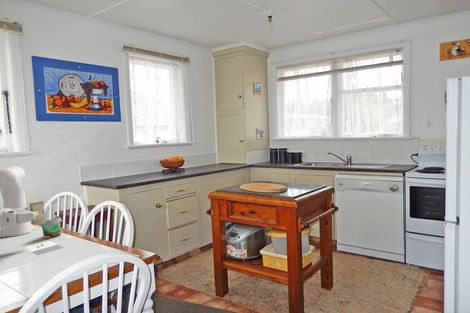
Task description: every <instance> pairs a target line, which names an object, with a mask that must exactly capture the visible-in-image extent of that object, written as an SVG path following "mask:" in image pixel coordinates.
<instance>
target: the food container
mask: <svg viewBox="0 0 470 313" xmlns="http://www.w3.org/2000/svg"><path fill="white" fill-rule="evenodd" d="M62 221H63V220H62V218H61V216H59V215H56V216H55V218H51V219H48V220H45V222H46V223H43V224H40V226H41V229H42V236H43V239H44V240H49V239H55V238H58V237H60V236H61V230H62V228H61V222H62Z"/></svg>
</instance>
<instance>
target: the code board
mask: <svg viewBox="0 0 470 313" xmlns="http://www.w3.org/2000/svg"><path fill="white" fill-rule="evenodd" d="M24 249H26V250H27V251H29V252H31V253H33V254H34V255H36V256H40V255H44V254H47V253H50V252H54V251H59V250H61V249H65V247H64V246H62V245H59V244H57V243H55V242H54V241H51V240H49V241H44V242H40V243H36V244H33V245H30V246H26V247H24Z"/></svg>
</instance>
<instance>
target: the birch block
mask: <svg viewBox="0 0 470 313" xmlns="http://www.w3.org/2000/svg"><path fill="white" fill-rule="evenodd" d="M28 207H29V208H28V209H30V211H32V212H35V211H38V210H41V211H42V214H39V215H36V216H35V219H34V220H32V221H31V224H32V225H33V226H38V225H41V224H43V223H46V222H45V221H46V215H45V205H44V201H42V200H35V201H28Z"/></svg>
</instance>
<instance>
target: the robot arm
mask: <svg viewBox="0 0 470 313" xmlns="http://www.w3.org/2000/svg"><path fill="white" fill-rule="evenodd" d="M25 179H26V171H25V169H23V168H22V167H20V166H18V165H11V166H8V167H5V168H2V169H0V193H1V197H2V204H3V208H1V209H0V238H5V237H7V238H8V237H17V236H22V235H25V234H28V233H31V232H33V231H35V230H36V229H37V227H36V226H34V225H32V224H31V221H32V220H34V219H35V216H36V215H39V214H42V211H41V210H38V211H35V212H32V211H30V209H29V208H28V206H27V199H26V198H27V197H26V193H25V191H24V188H23V184H22V182H23V181H24V180H25Z"/></svg>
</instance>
